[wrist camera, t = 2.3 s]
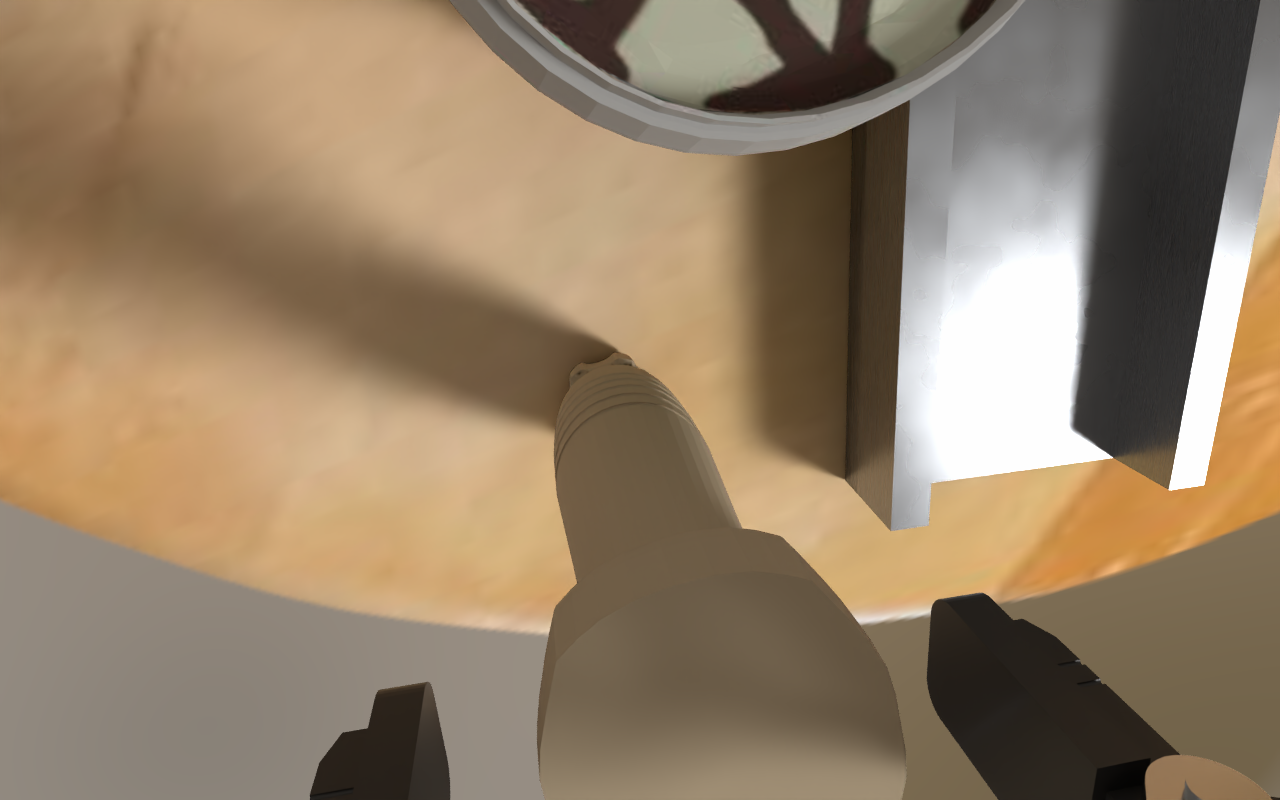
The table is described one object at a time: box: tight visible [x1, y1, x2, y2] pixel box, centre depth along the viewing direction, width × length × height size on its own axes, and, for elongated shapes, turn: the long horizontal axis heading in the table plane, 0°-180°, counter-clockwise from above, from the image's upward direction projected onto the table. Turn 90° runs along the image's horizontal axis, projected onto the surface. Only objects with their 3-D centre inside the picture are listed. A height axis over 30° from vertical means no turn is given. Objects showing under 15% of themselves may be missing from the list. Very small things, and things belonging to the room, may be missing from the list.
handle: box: [537, 353, 906, 800], centre depth 17 cm, size 5×6×15 cm
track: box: [845, 0, 1280, 531], centre depth 22 cm, size 20×10×4 cm, turn 4°
